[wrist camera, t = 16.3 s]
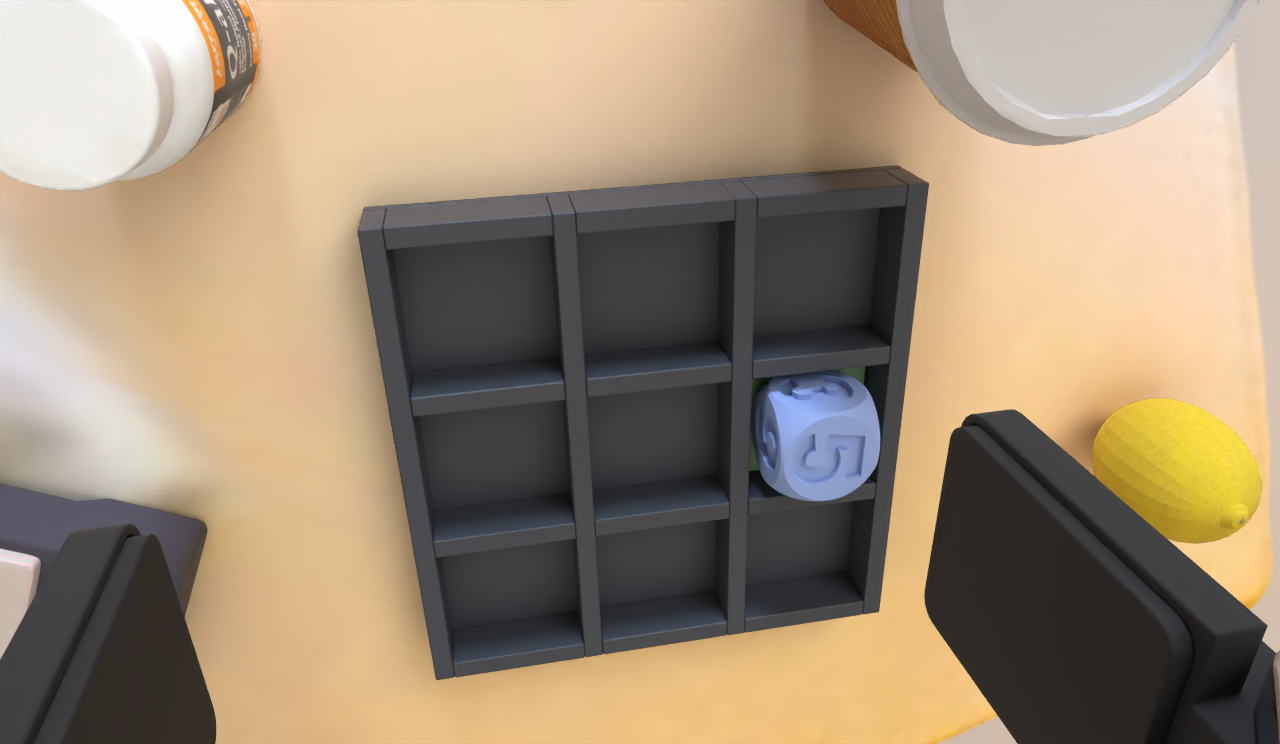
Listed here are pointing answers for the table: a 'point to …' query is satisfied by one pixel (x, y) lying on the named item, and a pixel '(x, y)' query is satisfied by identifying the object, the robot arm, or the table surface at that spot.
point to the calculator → (39, 524)
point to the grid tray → (635, 404)
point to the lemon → (1178, 469)
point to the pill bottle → (117, 84)
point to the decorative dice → (815, 434)
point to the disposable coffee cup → (1052, 57)
